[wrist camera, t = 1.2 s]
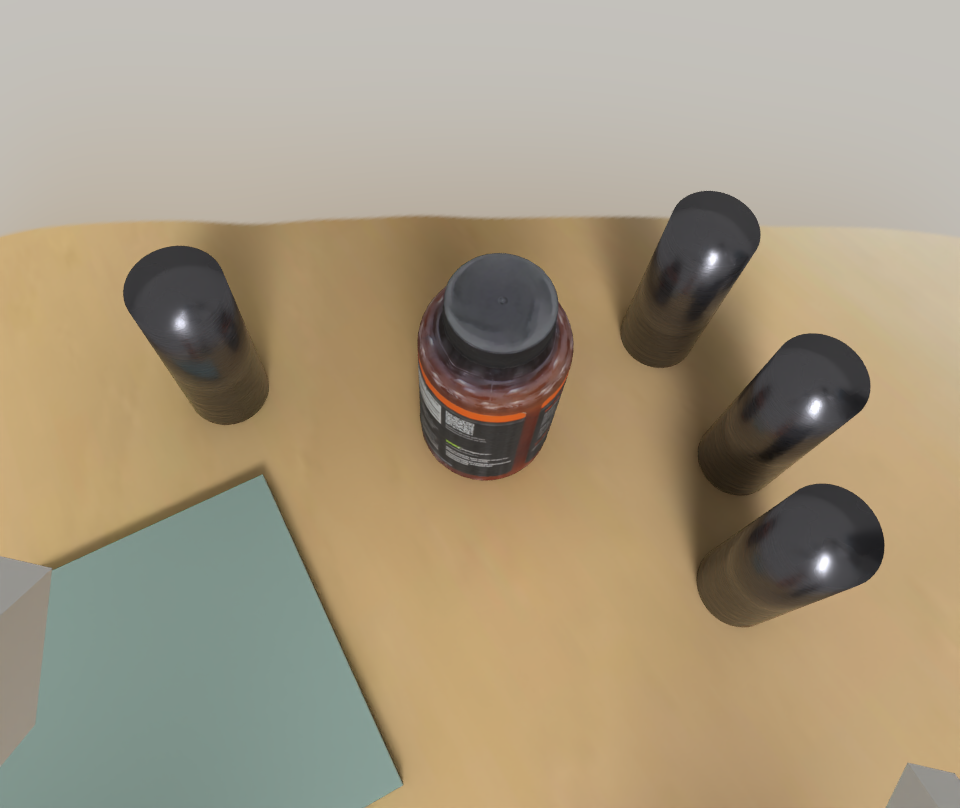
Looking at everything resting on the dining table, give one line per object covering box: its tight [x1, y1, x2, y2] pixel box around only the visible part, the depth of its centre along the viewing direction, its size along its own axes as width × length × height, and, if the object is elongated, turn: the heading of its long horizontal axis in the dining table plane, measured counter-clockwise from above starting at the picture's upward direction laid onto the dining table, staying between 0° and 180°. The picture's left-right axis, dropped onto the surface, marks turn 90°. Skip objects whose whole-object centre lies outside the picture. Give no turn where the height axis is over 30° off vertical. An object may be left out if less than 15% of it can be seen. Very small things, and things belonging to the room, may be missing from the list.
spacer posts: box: [123, 191, 884, 627], centre depth 33 cm, size 23×22×9 cm
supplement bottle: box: [418, 253, 573, 480], centre depth 33 cm, size 6×6×11 cm
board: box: [0, 474, 403, 808], centre depth 32 cm, size 14×14×1 cm
